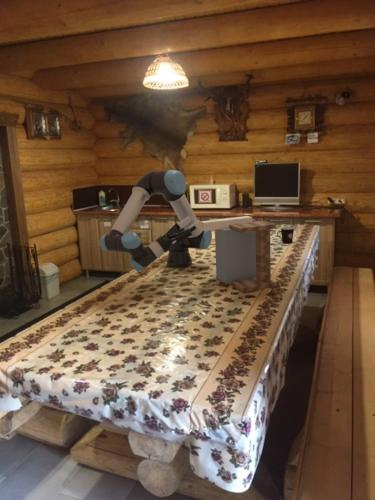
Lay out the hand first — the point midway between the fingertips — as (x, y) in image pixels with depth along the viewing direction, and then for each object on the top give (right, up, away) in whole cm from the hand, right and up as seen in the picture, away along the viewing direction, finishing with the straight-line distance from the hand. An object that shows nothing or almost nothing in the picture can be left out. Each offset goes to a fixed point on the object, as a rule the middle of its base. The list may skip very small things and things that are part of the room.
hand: (195, 220), depth 201 cm
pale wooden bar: (+16, -3, +7) cm, 17 cm away
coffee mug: (+63, -9, +87) cm, 107 cm away
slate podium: (+21, -29, +15) cm, 39 cm away
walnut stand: (+28, -31, +1) cm, 42 cm away
